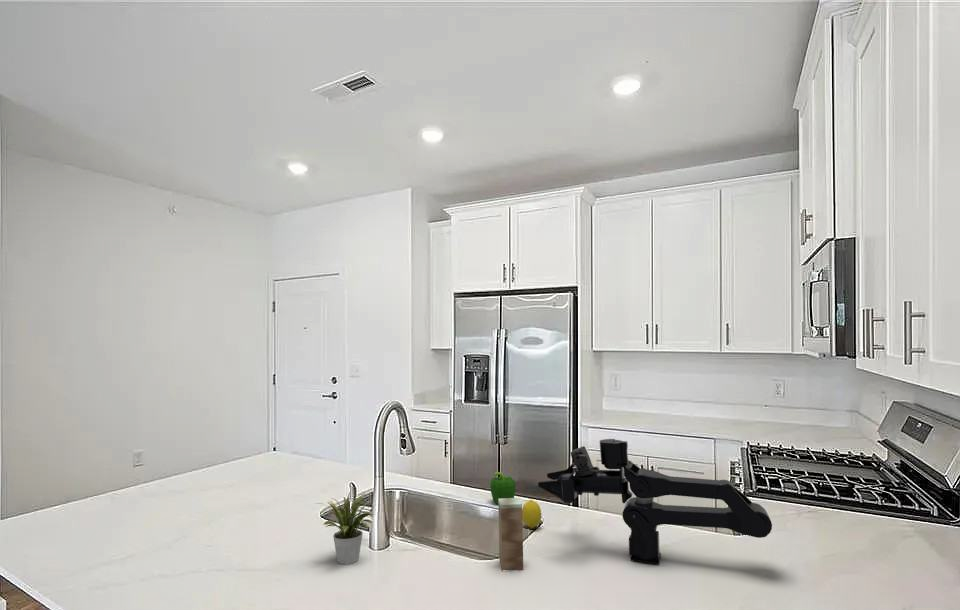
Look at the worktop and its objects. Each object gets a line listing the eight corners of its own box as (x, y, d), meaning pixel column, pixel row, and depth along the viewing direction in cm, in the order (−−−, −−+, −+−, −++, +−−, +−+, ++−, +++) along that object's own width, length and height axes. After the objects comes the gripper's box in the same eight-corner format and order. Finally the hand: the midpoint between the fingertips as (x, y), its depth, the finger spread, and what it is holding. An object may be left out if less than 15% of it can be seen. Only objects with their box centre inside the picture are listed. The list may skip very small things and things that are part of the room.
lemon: (540, 532, 143) (540, 503, 144) (521, 531, 144) (520, 502, 145) (542, 525, 148) (541, 497, 149) (523, 524, 150) (522, 496, 150)
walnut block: (519, 560, 125) (518, 497, 126) (523, 569, 120) (522, 504, 121) (499, 561, 125) (498, 498, 126) (502, 571, 120) (501, 505, 121)
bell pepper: (519, 500, 173) (518, 469, 173) (512, 507, 165) (511, 476, 166) (495, 498, 175) (494, 468, 176) (487, 505, 168) (487, 474, 168)
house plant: (318, 579, 117) (319, 506, 118) (308, 557, 129) (309, 490, 130) (380, 566, 123) (379, 496, 124) (364, 546, 135) (364, 482, 137)
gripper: (605, 442, 139) (549, 442, 145) (594, 457, 122) (530, 456, 128) (608, 484, 138) (552, 482, 144) (597, 505, 121) (534, 502, 127)
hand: (542, 479), depth 136 cm, fingers open, 9 cm apart
